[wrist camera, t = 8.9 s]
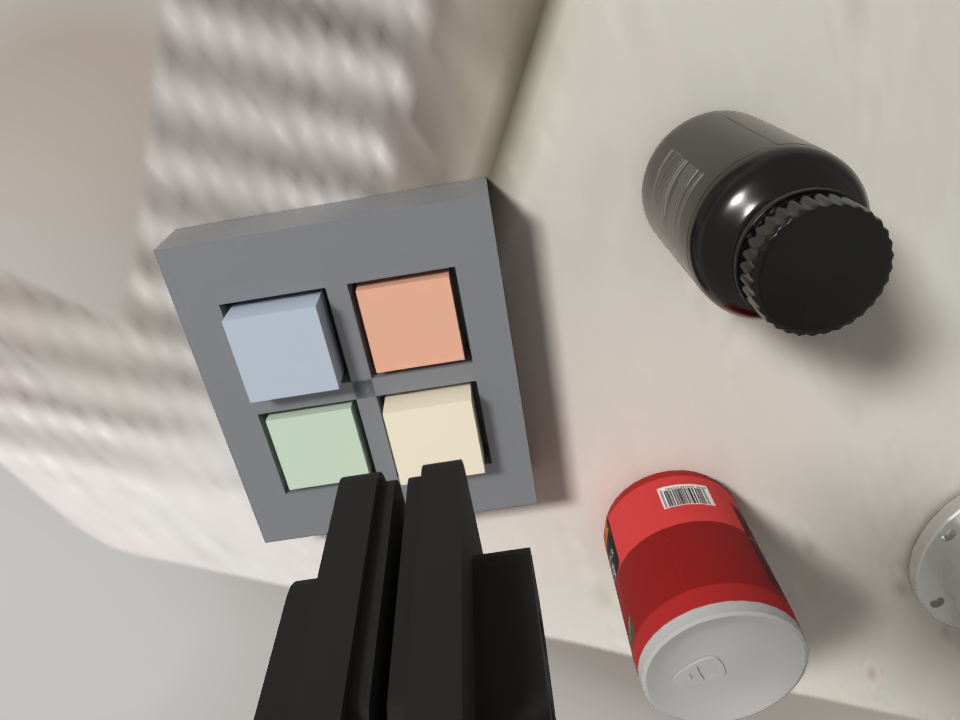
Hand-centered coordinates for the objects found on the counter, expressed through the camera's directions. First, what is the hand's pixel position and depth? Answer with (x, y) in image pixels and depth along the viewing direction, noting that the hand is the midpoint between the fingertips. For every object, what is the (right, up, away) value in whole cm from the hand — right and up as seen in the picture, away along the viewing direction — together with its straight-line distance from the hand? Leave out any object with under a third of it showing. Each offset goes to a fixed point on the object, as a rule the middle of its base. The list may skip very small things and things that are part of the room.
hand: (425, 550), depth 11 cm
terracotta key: (-2, +5, +26) cm, 27 cm away
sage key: (-7, -1, +29) cm, 30 cm away
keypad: (-5, +3, +29) cm, 30 cm away
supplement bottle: (+12, +11, +25) cm, 30 cm away
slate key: (-8, +4, +26) cm, 27 cm away
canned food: (+12, -7, +35) cm, 37 cm away
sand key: (-1, -1, +28) cm, 28 cm away
